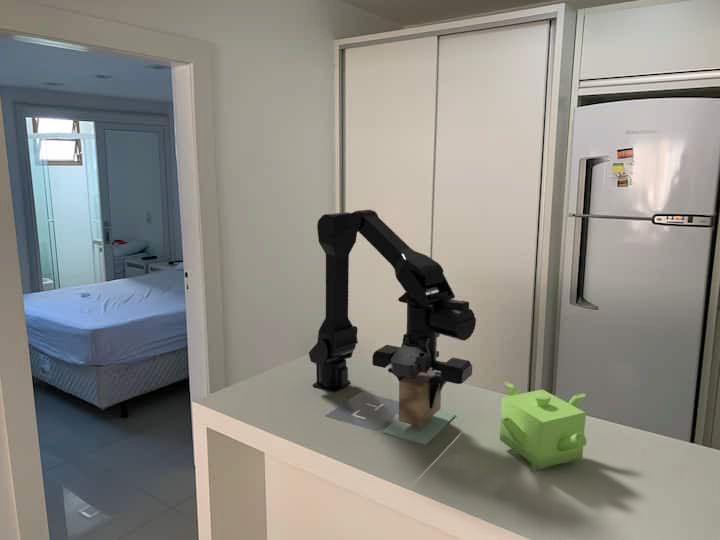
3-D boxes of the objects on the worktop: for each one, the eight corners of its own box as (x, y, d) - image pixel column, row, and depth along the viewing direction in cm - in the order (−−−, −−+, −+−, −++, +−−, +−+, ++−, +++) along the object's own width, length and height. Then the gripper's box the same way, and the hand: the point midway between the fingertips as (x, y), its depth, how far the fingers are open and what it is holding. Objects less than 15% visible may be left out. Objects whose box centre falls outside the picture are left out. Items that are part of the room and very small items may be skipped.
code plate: (324, 416, 114) (324, 415, 114) (361, 392, 126) (361, 391, 126) (375, 431, 108) (375, 430, 108) (409, 404, 119) (409, 403, 119)
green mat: (382, 433, 107) (382, 431, 107) (415, 406, 119) (415, 404, 118) (425, 446, 102) (425, 443, 102) (455, 416, 114) (455, 414, 114)
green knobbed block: (502, 430, 108) (505, 374, 106) (581, 442, 104) (586, 384, 101) (492, 469, 94) (495, 407, 92) (583, 486, 90) (589, 420, 87)
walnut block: (398, 421, 108) (399, 381, 106) (419, 403, 115) (420, 366, 113) (420, 426, 105) (421, 386, 104) (440, 408, 113) (441, 371, 111)
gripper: (357, 331, 105) (357, 409, 108) (451, 348, 95) (448, 434, 98) (386, 316, 114) (386, 389, 117) (474, 331, 104) (471, 410, 107)
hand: (420, 404), depth 110 cm, fingers closed on walnut block, 5 cm apart
